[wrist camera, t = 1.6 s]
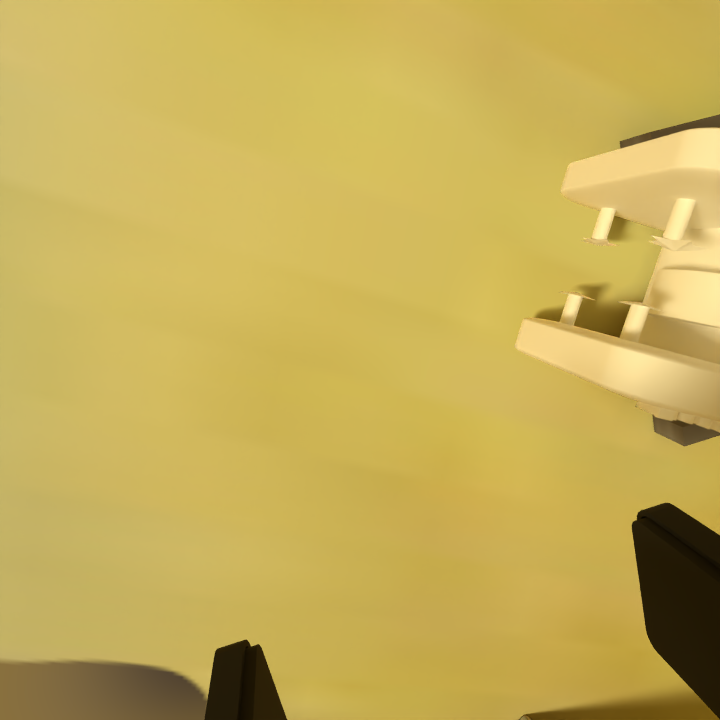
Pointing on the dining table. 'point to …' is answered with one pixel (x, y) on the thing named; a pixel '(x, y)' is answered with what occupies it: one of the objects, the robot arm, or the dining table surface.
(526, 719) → the coffee box
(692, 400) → the cable organizer
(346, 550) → the dining table surface
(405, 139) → the dining table surface
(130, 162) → the dining table surface
